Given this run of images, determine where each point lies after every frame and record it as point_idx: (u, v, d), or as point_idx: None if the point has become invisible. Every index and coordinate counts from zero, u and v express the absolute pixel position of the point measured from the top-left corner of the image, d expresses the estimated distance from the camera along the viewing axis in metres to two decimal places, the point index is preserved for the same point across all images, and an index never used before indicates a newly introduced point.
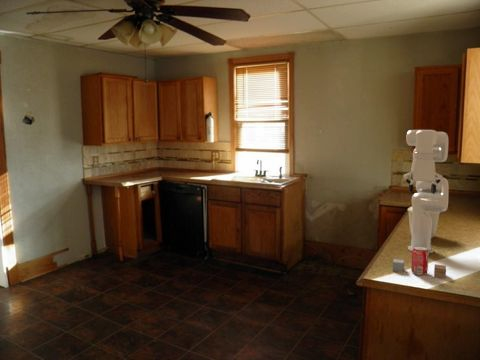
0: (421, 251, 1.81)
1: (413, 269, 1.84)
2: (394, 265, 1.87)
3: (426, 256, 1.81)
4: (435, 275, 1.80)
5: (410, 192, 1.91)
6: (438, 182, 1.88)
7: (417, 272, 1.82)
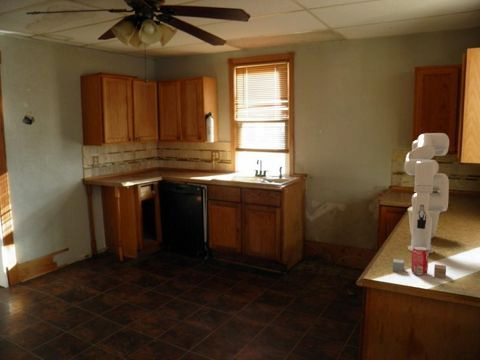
0: (421, 251, 1.81)
1: (413, 269, 1.84)
2: (394, 265, 1.87)
3: (426, 256, 1.81)
4: (435, 275, 1.80)
5: (420, 228, 1.77)
6: None
7: (417, 272, 1.82)
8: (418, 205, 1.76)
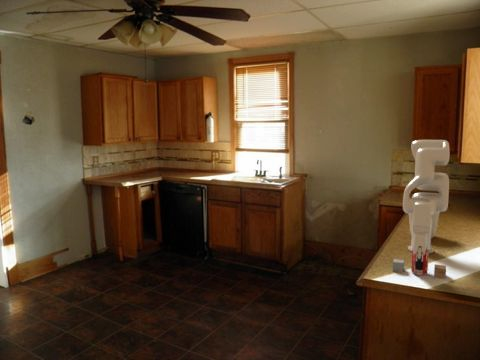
0: None
1: (413, 269, 1.84)
2: (394, 265, 1.87)
3: (426, 256, 1.81)
4: (435, 275, 1.80)
5: (418, 269, 1.81)
6: None
7: (417, 272, 1.82)
8: (416, 246, 1.79)
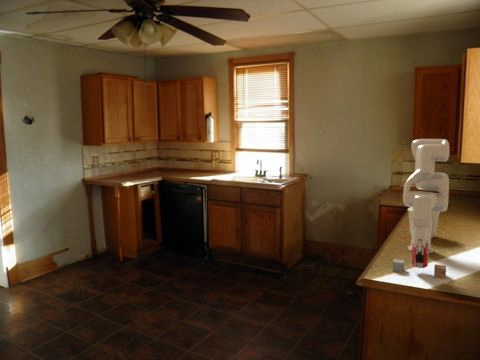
0: None
1: (413, 262, 1.84)
2: (394, 265, 1.87)
3: (426, 249, 1.81)
4: (435, 275, 1.80)
5: (418, 262, 1.81)
6: None
7: (417, 265, 1.82)
8: (416, 239, 1.79)
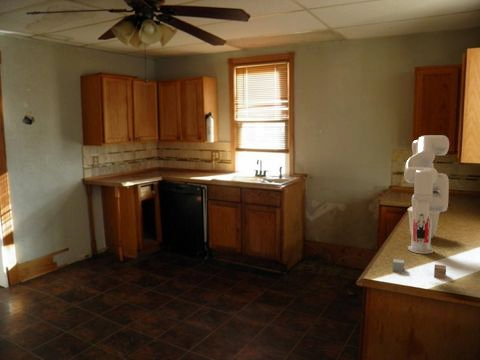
0: None
1: (415, 238, 1.82)
2: (394, 265, 1.87)
3: (428, 224, 1.79)
4: (435, 275, 1.80)
5: (419, 237, 1.80)
6: None
7: (419, 241, 1.81)
8: (418, 214, 1.78)
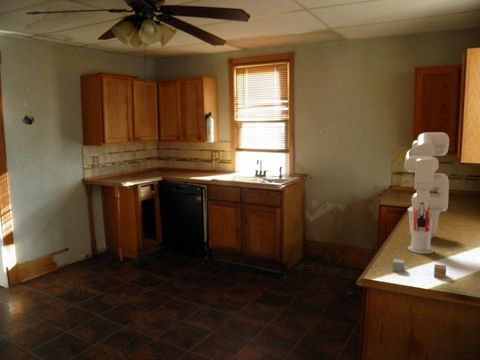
0: None
1: (415, 227, 1.81)
2: (394, 265, 1.87)
3: (428, 213, 1.78)
4: (435, 275, 1.80)
5: (420, 226, 1.78)
6: None
7: (419, 230, 1.79)
8: (418, 202, 1.77)
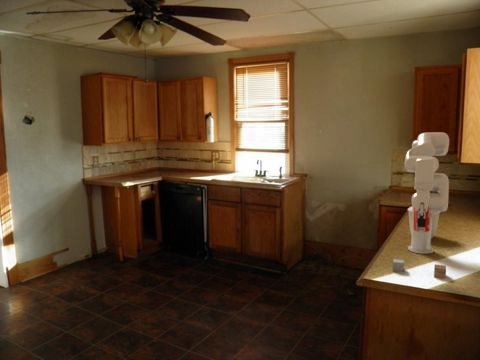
0: None
1: (415, 227, 1.81)
2: (394, 265, 1.87)
3: (428, 213, 1.78)
4: (435, 275, 1.80)
5: (420, 226, 1.78)
6: None
7: (419, 230, 1.79)
8: (418, 202, 1.77)
